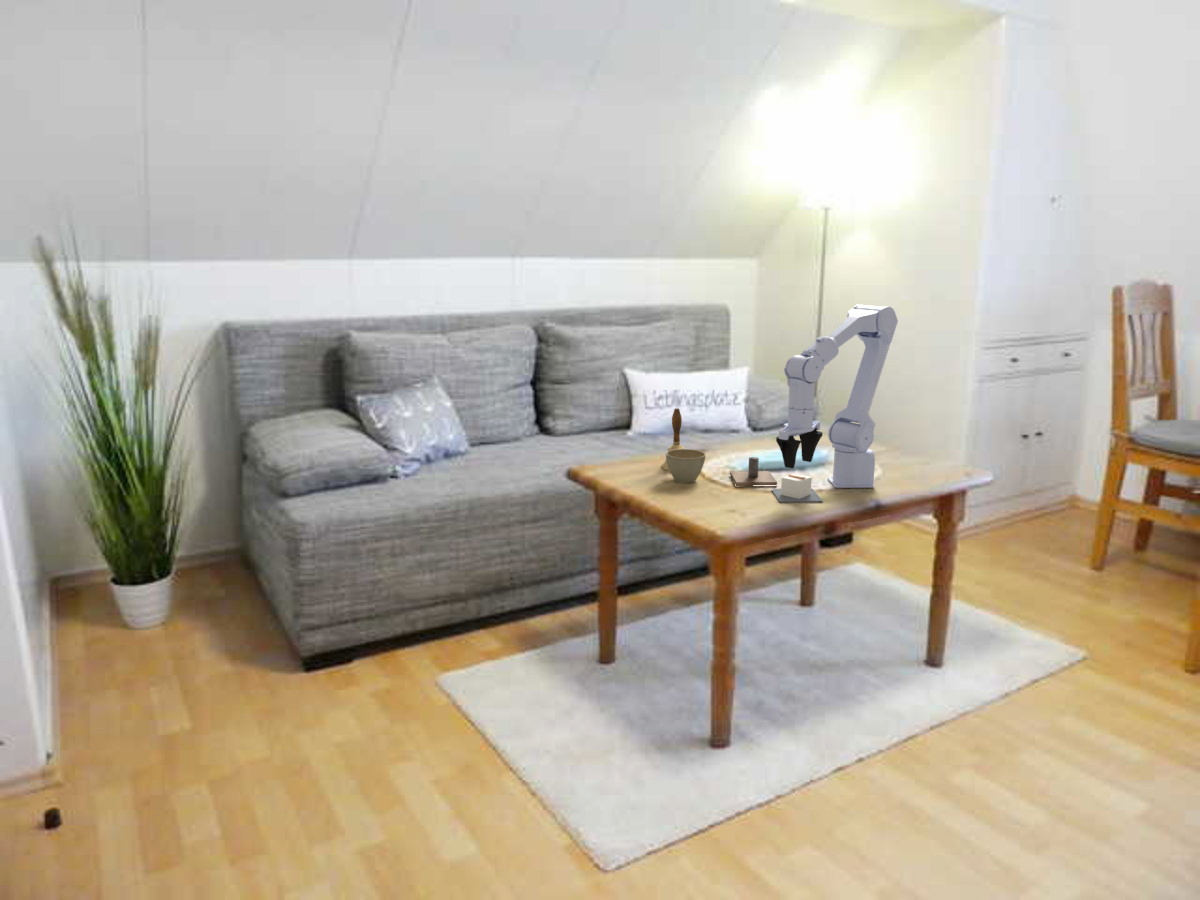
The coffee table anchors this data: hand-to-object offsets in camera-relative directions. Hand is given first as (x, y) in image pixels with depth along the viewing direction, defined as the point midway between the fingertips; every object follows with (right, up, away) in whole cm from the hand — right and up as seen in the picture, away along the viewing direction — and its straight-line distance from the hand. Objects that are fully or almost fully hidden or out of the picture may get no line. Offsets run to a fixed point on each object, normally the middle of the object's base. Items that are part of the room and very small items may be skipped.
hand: (798, 464), depth 201 cm
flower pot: (-25, -5, +15) cm, 30 cm away
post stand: (-8, -5, +14) cm, 17 cm away
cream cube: (0, -7, +2) cm, 7 cm away
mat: (0, -8, +2) cm, 8 cm away
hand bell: (-26, -1, +28) cm, 38 cm away
